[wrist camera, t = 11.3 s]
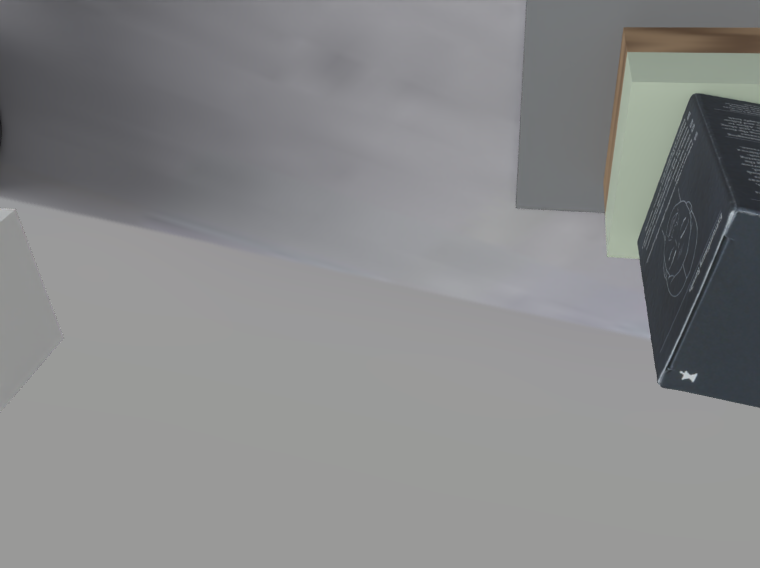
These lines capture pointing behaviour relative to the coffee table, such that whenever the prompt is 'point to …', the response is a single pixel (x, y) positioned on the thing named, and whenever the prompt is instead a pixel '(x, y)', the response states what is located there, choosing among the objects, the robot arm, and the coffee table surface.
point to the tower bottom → (674, 43)
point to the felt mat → (587, 88)
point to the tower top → (662, 127)
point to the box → (707, 254)
